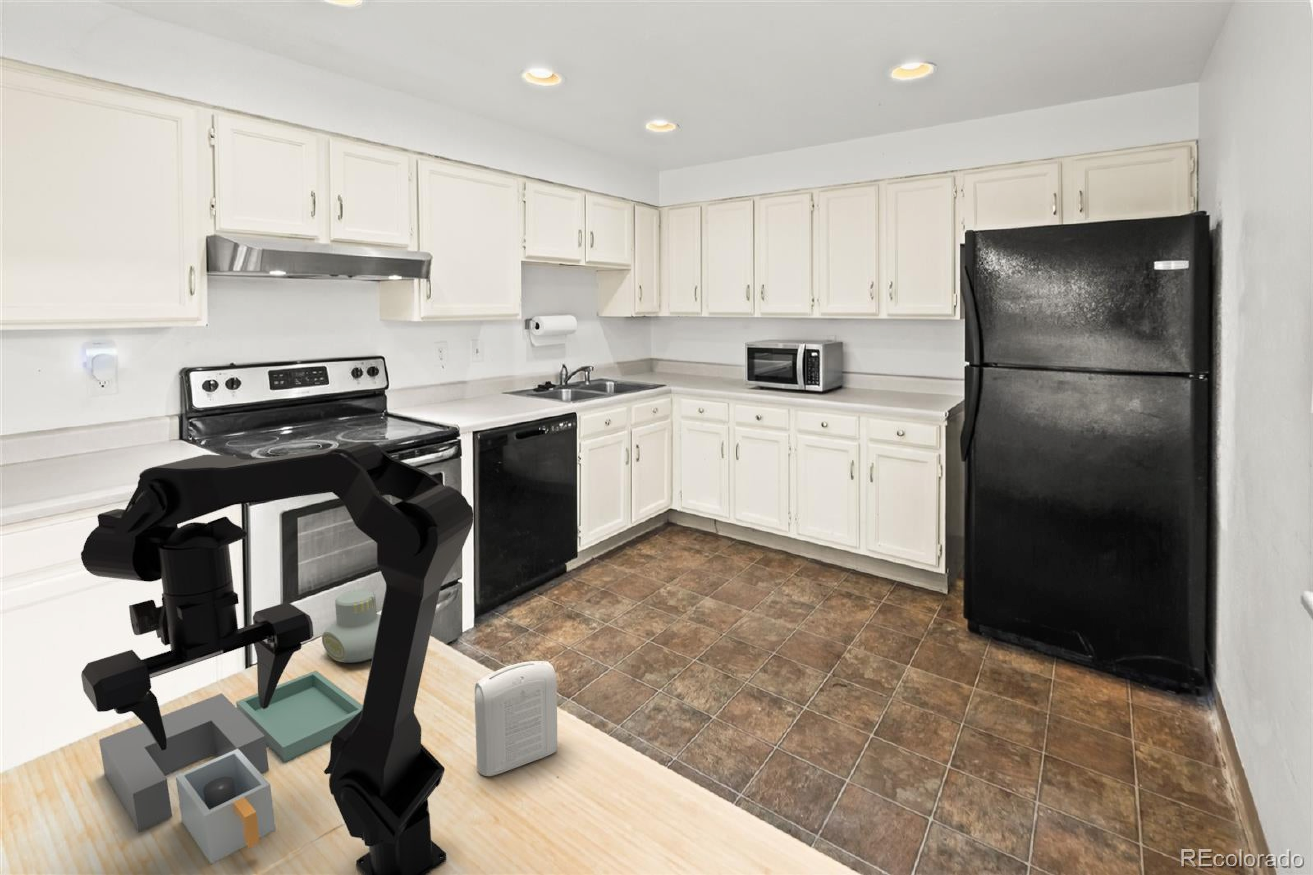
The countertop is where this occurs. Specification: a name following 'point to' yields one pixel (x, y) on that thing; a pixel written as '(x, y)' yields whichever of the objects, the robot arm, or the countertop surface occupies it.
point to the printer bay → (175, 754)
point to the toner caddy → (226, 806)
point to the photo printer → (515, 716)
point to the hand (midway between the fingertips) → (215, 726)
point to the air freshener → (353, 627)
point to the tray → (301, 714)
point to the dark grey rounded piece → (219, 791)
